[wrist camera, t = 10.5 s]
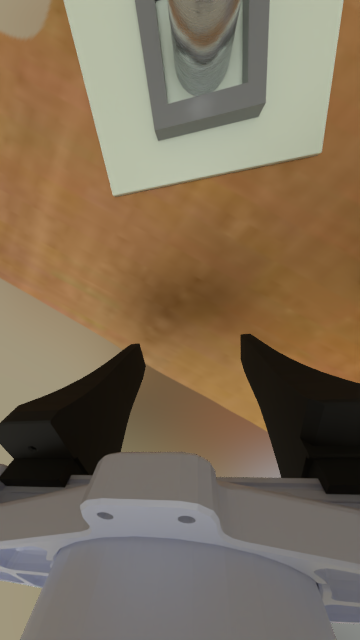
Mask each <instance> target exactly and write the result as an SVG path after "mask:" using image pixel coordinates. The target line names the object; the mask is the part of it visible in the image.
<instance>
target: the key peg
mask: <svg viewBox="0 0 360 640" xmlns="http://www.w3.org/2000/svg"><path fill="white" fill-rule="evenodd" d="M167 3H168V11H169V20H170V29H171V37H172V46H173V54H174V63H175V70H176V74H177V77H178V80H179V82H180V84H181V85H182V87H183V88H184V89H185V90H186V91H187V92H188V93H190V94H191V95H194V96H199V95H203V94H207V93H211V92H213V91H214V90H215V89H216V88H217V87H218V86H219V85H220V84H221V82H222V81H223V79H224V77H225V75H226V72H227V70H228V66H229V62H230V57H231V52H232V46H233V41H234V36H235V31H236V25H237V20H238V15H239V10H240V4H241V0H167Z"/></svg>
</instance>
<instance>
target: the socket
mask: <svg viewBox="0 0 360 640" xmlns="http://www.w3.org/2000/svg"><path fill="white" fill-rule="evenodd" d="M64 4H65V8H66V12H67V16H68V20H69V23H70V27H71V31H72V35H73V39H74V43H75V47H76V51H77V55H78V59H79V63H80V67H81V71H82V75H83V79H84V83H85V87H86V91H87V95H88V99H89V102H90V106H91V110H92V114H93V118H94V122H95V126H96V130H97V134H98V138H99V142H100V146H101V150H102V154H103V158H104V162H105V166H106V170H107V174H108V178H109V181H110V185H111V189H112V193H113V196H115V197H117V196H122V195H127V194H132V193H137V192H141V191H146V190H151V189H156V188H161V187H166V186H171V185H175V184H180V183H185V182H190V181H195V180H200V179H205V178H209V177H214V176H219V175H224V174H229V173H234V172H239V171H243V170H248V169H253V168H258V167H263V166H268V165H273V164H277V163H282V162H287V161H292V160H297V159H302V158H307V157H311V156H316V155H319V154H320V153H322V146H323V139H324V132H325V125H326V118H327V111H328V104H329V97H330V90H331V84H332V77H333V70H334V63H335V56H336V49H337V42H338V35H339V28H340V21H341V14H342V7H343V0H241V4H240V10H239V15H238V20H237V25H236V31H235V36H234V41H233V46H232V52H231V57H230V62H229V66H228V70H227V72H226V75H225V77H224V79H223V81H222V82H221V84H220V85H219V86H218V87H217V88H216V89H215V90H214V91H213V92H211V93H207V94H203V95H199V96H194V95H191V94H190V93H188V92H187V91H186V90H185V89H184V88H183V87H182V85H181V84H180V82H179V80H178V77H177V74H176V70H175V63H174V54H173V46H172V37H171V29H170V20H169V11H168V3H167V0H64Z"/></svg>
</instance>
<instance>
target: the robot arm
mask: <svg viewBox="0 0 360 640" xmlns="http://www.w3.org/2000/svg"><path fill="white" fill-rule="evenodd" d="M241 362H242V365H243V369H244V372H245V374H246V377H247V379H248V381H249V383H250V386H251V388H252V390H253V392H254V395H255V397H256V399H257V401H258V404H259V406H260V409H261V412H262V415H263V418H264V421H265V424H266V427H267V430H268V434H269V437H270V440H271V443H272V447H273V450H274V453H275V456H276V460H277V463H278V467H279V470H280V474H281V478H248V477H245V478H244V477H216V474H215V470H214V468H213V467H212V465H211V463H210V462H209V461H208V460H206V459H205V458H203V457H201V456H199V455H197V454H192V453H186V452H121V448H122V443H123V439H124V435H125V430H126V426H127V423H128V419H129V415H130V412H131V409H132V406H133V403H134V401H135V398H136V395H137V393H138V390H139V388H140V385H141V382H142V379H143V376H144V371H145V367H146V365H145V362H144V358H143V355H142V351H141V348H140V344H131V345H129V346H128V347H127V348H125V349H124V350H123V351H121V352H120V353H119V354H117V355H116V356H115V357H113V358H112V359H111V360H109V361H108V362H107V363H105V364H104V365H102V366H101V367H99V368H98V369H96V370H95V371H93V372H92V373H90V374H89V375H87V376H85V377H83V378H82V379H80V380H78V381H76V382H74V383H72V384H70V385H68V386H66V387H64V388H62V389H60V390H58V391H55V392H53V393H51V394H48V395H46V396H43V397H41V398H38V399H35V400H32V401H30V402H27V403H25V404H21V405H19V406H18V407H17V408H15V410H13V411H12V412H11V413H10V414H9V415H8V416H7V417H6V418H5V419H4V420H3V421H2V422H1V423H0V444H1V445H2V446H3V447H4V449H5V450H6V451H7V452H8V453H9V454H10V455H11V456H12V457H13V458H14V460H13V461H12V462H11V463H10V464H9V466H6V465H4V464H0V580H1V581H7V582H12V583H18V584H24V585H28V586H34V587H40V588H42V590H41V593H40V595H39V597H38V600H37V602H36V604H35V607H34V609H33V611H32V613H31V616H30V618H29V620H28V623H27V625H26V627H25V629H24V632H23V634H22V636H21V639H20V640H336V637H335V634H334V632H333V629H332V626H331V623H349V624H360V383H356V382H352V381H348V380H345V379H342V378H339V377H335V376H332V375H329V374H326V373H324V372H321V371H318V370H316V369H313V368H310V367H308V366H306V365H303V364H301V363H299V362H297V361H295V360H292V359H290V358H288V357H286V356H285V355H283V354H281V353H279V352H277V351H276V350H274V349H272V348H271V347H269V346H268V345H266V344H265V343H263V342H262V341H260V340H259V339H257V338H256V337H254V336H253V335H251V334H242V335H241Z"/></svg>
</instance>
